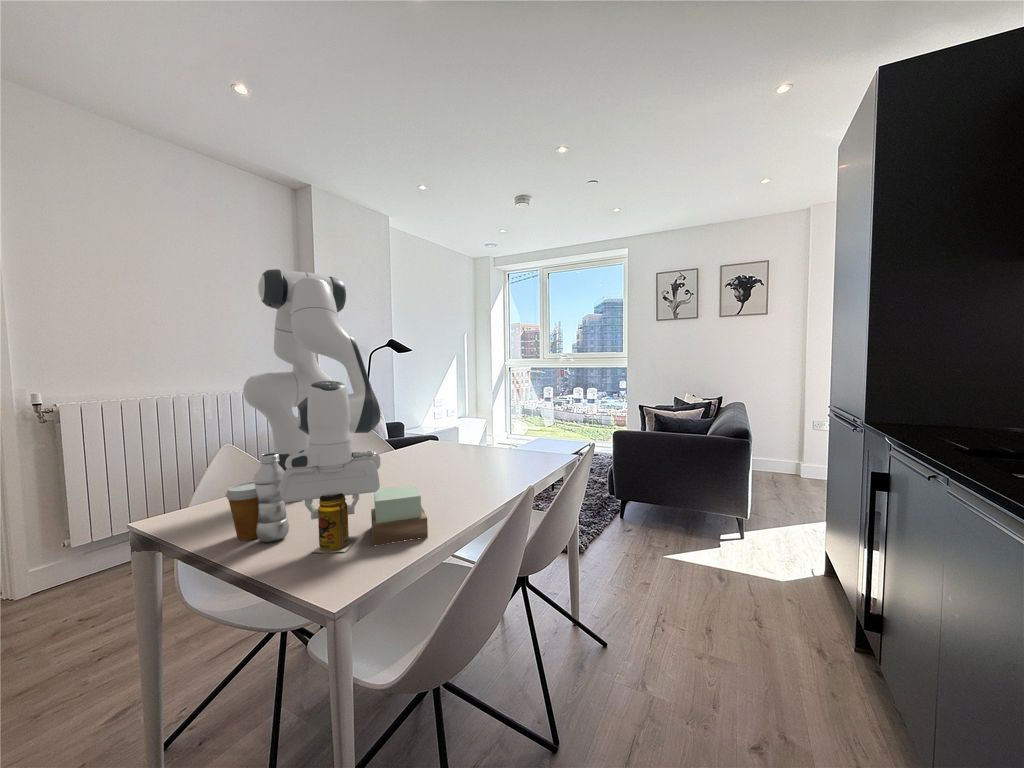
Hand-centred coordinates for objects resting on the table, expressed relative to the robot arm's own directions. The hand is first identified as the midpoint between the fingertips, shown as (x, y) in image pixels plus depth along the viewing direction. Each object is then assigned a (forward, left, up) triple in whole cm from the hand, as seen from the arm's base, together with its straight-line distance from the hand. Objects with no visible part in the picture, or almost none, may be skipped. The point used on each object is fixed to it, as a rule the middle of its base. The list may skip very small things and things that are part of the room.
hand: (333, 515), depth 93 cm
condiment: (0, 0, -7) cm, 7 cm away
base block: (-2, +14, -7) cm, 16 cm away
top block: (-2, +14, -2) cm, 14 cm away
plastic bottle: (-9, -14, -7) cm, 18 cm away
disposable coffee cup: (-14, -19, -7) cm, 24 cm away
